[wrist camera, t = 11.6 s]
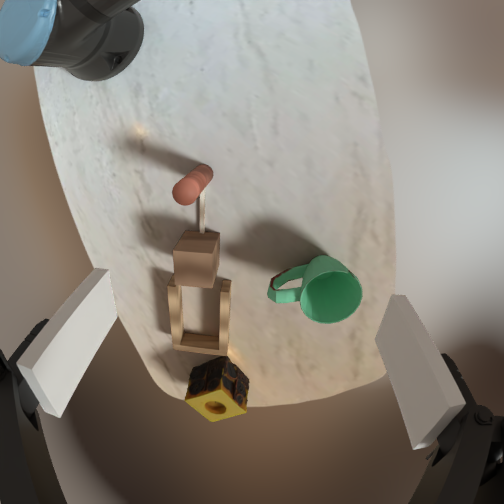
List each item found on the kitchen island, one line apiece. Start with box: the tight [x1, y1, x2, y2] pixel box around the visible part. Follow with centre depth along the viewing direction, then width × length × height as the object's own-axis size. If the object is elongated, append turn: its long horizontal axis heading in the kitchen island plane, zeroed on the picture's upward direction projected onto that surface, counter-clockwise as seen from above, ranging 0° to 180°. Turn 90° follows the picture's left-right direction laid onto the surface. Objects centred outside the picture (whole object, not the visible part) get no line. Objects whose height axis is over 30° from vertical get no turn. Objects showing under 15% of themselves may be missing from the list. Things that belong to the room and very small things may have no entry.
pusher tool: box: [172, 164, 220, 288], centre depth 45 cm, size 18×6×12 cm, turn 176°
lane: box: [167, 275, 231, 356], centre depth 57 cm, size 16×11×4 cm
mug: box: [267, 255, 362, 324], centre depth 49 cm, size 15×10×10 cm
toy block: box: [184, 356, 249, 422], centre depth 62 cm, size 10×10×10 cm
